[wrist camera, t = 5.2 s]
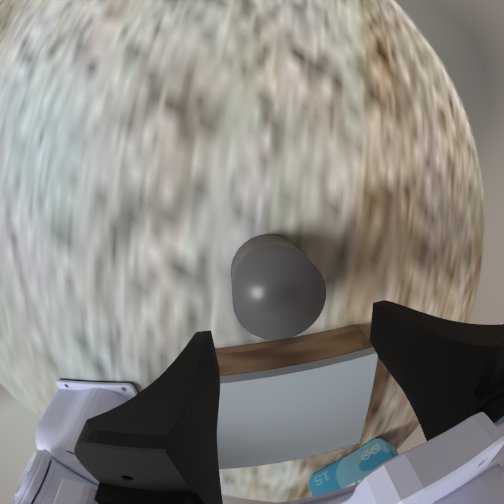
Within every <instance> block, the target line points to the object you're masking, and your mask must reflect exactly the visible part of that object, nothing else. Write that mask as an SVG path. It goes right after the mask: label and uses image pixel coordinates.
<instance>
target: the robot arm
mask: <svg viewBox="0 0 504 504" xmlns="http://www.w3.org/2000/svg"><path fill="white" fill-rule="evenodd" d="M370 342H371V344H372V346H373V348H374V350H375V351H376V353H377V355H378V357H379V358H380V360H381V361H382V362H383V364H384V365H385V367H386V368H387V369H388V371H389V372H390V373H391V375H392V376H393V377H394V379H395V380H396V381H397V383H398V384H399V385H400V387H401V388H402V390H403V391H404V393H405V394H406V396H407V398H408V400H409V402H410V404H411V406H412V408H413V410H414V412H415V414H416V416H417V418H418V420H419V422H420V425H421V427H422V430H423V432H424V435H425V438H426V440H427V442H425V443H423V444H421V445H419V446H417V447H415V448H412V449H410V450H408V451H406V452H403V453H401V454H399V455H397V456H396V457H394V458H392V459H390V460H388V461H386V462H384V463H382V464H381V465H379V466H378V467H377V468H375V469H374V470H372V471H371V472H369V473H368V474H367V475H366V476H365V477H364V478H363V479H362V480H361V481H360V483H359V484H356V485H352V486H349V487H346V488H343V489H339V490H336V491H332V492H328V493H324V494H320V495H316V496H312V497H307V498H302V499H297V500H292V501H286V502H280V503H274V504H504V324H503V325H478V324H468V323H461V322H456V321H451V320H446V319H442V318H438V317H435V316H431V315H428V314H425V313H422V312H419V311H416V310H413V309H411V308H408V307H405V306H402V305H399V304H396V303H393V302H390V301H385V300H384V301H380V302H375V303H373V313H372V324H371V334H370ZM56 385H57V386H58V388H59V390H58V391H57V393H56V395H55V396H54V398H53V400H52V401H51V403H50V404H49V406H48V408H47V409H46V411H45V413H44V415H43V416H42V418H41V420H40V421H39V424H38V426H37V429H36V445H37V448H38V450H37V451H36V452H35V453H34V454H33V456H32V457H31V459H30V460H29V462H28V464H27V466H26V468H25V470H24V472H23V474H22V476H21V478H20V480H19V483H18V486H17V489H16V492H15V497H14V499H13V501H12V504H223V503H222V495H221V486H220V476H219V464H218V449H217V423H218V410H219V398H220V371H219V365H218V360H217V356H216V352H215V347H214V343H213V338H212V334H211V331H202V332H196V333H195V335H194V336H193V337H192V339H191V340H190V341H189V343H188V344H187V345H186V347H185V348H184V350H183V351H182V352H181V353H180V355H179V356H178V357H177V358H176V360H175V361H174V362H173V363H172V364H171V365H170V366H169V368H168V369H167V370H166V371H165V372H164V373H163V374H162V375H161V376H160V377H159V378H158V379H156V380H155V381H154V382H153V383H152V384H151V385H149V386H148V387H147V388H145V389H144V390H143V391H141V392H140V393H137V391H136V389H135V387H134V386H133V385H132V384H130V383H103V382H83V381H69V380H57V381H56ZM123 387H124V388H123ZM125 388H126V389H125Z"/></svg>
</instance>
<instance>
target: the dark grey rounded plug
mask: <svg viewBox="0 0 504 504" xmlns="http://www.w3.org/2000/svg"><path fill="white" fill-rule="evenodd" d="M231 278H232V296H233V308H234V312H235V315H236V317H237V319H238V321H239V322H240V323H241V325H242V326H243V327H244V328H245V329H246V330H247V331H249V332H250V333H252V334H254V335H256V336H258V337H261V338H264V339H271V340H280V339H286V338H290V337H293V336H296V335H298V334H300V333H302V332H303V331H305V330H306V329H308V328H309V327H310V326H311V325H312V324H313V323H314V322H315V321H316V319H317V318H318V317H319V315H320V313H321V311H322V309H323V306H324V303H325V298H326V288H325V283H324V280H323V278H322V275H321V274H320V272H319V271H318V269H317V268H316V267H315V266H314V265H313V264H312V263H311V262H310V261H309V260H308V258H307V257H306V256H305V255H304V254H303V253H302V252H301V251H300V250H299V249H298V248H297V247H296V246H295V245H294V244H293V243H292V242H291V241H289V240H288V239H286V238H284V237H282V236H279V235H273V234H265V235H260V236H256V237H254V238H252V239H250V240H248V241H247V242H245V243H244V244H243V245H242V246H241V247H240V248H239V249H238V251H237V252H236V254H235V256H234V258H233V261H232V266H231Z"/></svg>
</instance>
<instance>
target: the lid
mask: <svg viewBox="0 0 504 504" xmlns="http://www.w3.org/2000/svg"><path fill="white" fill-rule="evenodd" d="M377 360H378V355H377V353H376V351H375V350H374V348H373V347H371V348H367V349H364V350H360V351H356V352H352V353H348V354H344V355H340V356H336V357H332V358H327V359H323V360H318V361H314V362H309V363H304V364H299V365H293V366H288V367H282V368H276V369H270V370H264V371H257V372H250V373H243V374H235V375H226V376H220V398H219V410H218V423H217V449H218V464H219V469H229V468H241V467H250V466H259V465H266V464H273V463H279V462H285V461H290V460H295V459H300V458H305V457H310V456H314V455H318V454H322V453H326V452H330V451H334V450H337V449H341V448H344V447H348V446H351V445H354V444H357V443H359V442H360V439H361V435H362V431H363V428H364V424H365V420H366V416H367V411H368V407H369V402H370V398H371V393H372V388H373V383H374V378H375V372H376V366H377Z"/></svg>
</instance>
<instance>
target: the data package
mask: <svg viewBox="0 0 504 504" xmlns="http://www.w3.org/2000/svg"><path fill="white" fill-rule="evenodd" d="M397 455H399V454H398V452H397V451H396V449H395V447H393V446H392V445H391V444H389V443H388V442H386V441H385V440H384V439H381V438H376V439H373V440H371V441H369V442H368V443H366V444H365V445H363V446H361V447H360V448H358V449H357V450H355V451H353V452H352V453H350V454H348V455H347V456H345V457H343V458H342V459H340V460H338V461H336V462H334V463H333V464H331V465H329V466H327V467H325V468H323V469H321V470H319V471H317V472H316V473H314V474H313V475H312V477H311V478H310V481H309V485H310V489H311V492H312V496H316V495H320V494H324V493H328V492H332V491H336V490H339V489H343V488H346V487H349V486H352V485H356V484H359V483H360V481H361V480H362V479H363V478H364V477H365V476H366V475H367V474H368V473H369V472H371V471H372V470H374V469H375V468H377V467H378V466H379V465H381V464H382V463H384V462H386V461H388V460H390V459H392V458H394V457H396V456H397Z"/></svg>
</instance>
